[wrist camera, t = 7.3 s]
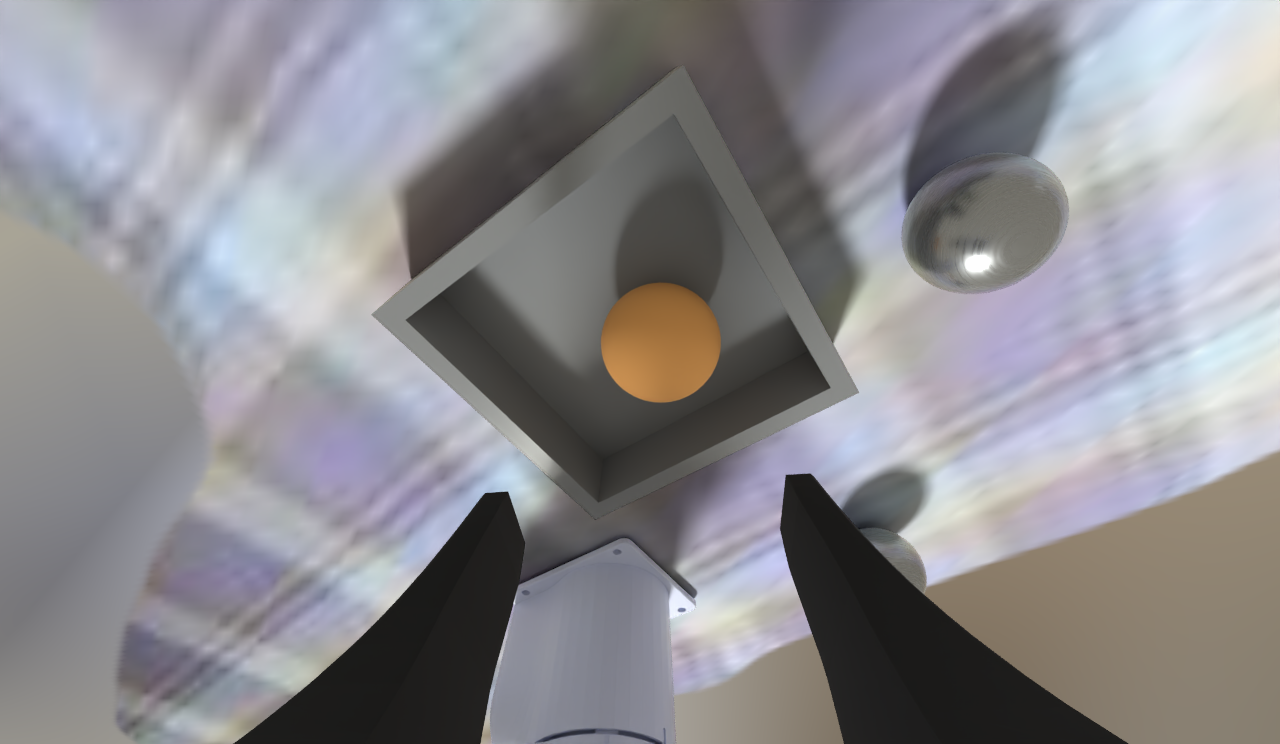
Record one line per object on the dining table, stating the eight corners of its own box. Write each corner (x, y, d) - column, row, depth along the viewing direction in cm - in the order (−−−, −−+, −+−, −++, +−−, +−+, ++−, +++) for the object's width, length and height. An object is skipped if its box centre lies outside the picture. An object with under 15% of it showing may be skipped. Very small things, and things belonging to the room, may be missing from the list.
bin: (600, 470, 24) (595, 519, 22) (410, 280, 19) (371, 314, 16) (830, 350, 20) (859, 392, 18) (676, 67, 15) (683, 64, 12)
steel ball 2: (901, 288, 19) (965, 340, 15) (862, 194, 17) (924, 226, 13) (1018, 225, 18) (1120, 265, 14) (990, 115, 16) (1099, 127, 12)
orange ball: (620, 392, 20) (683, 444, 17) (557, 329, 17) (619, 378, 14) (688, 319, 21) (761, 356, 17) (638, 245, 18) (716, 274, 14)
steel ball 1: (840, 569, 29) (870, 643, 25) (810, 530, 27) (838, 603, 23) (912, 543, 27) (955, 616, 24) (886, 499, 25) (928, 572, 22)
